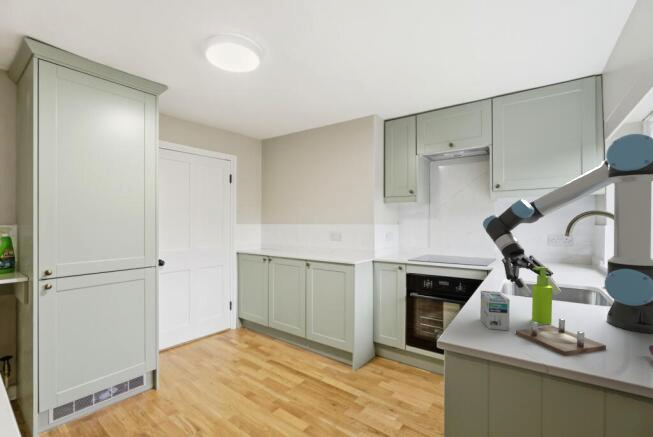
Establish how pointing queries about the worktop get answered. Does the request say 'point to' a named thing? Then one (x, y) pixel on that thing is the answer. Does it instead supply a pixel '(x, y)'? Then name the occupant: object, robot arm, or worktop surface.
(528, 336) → the locator board
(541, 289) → the soap dispenser
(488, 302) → the light bulb box
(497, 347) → the worktop surface
